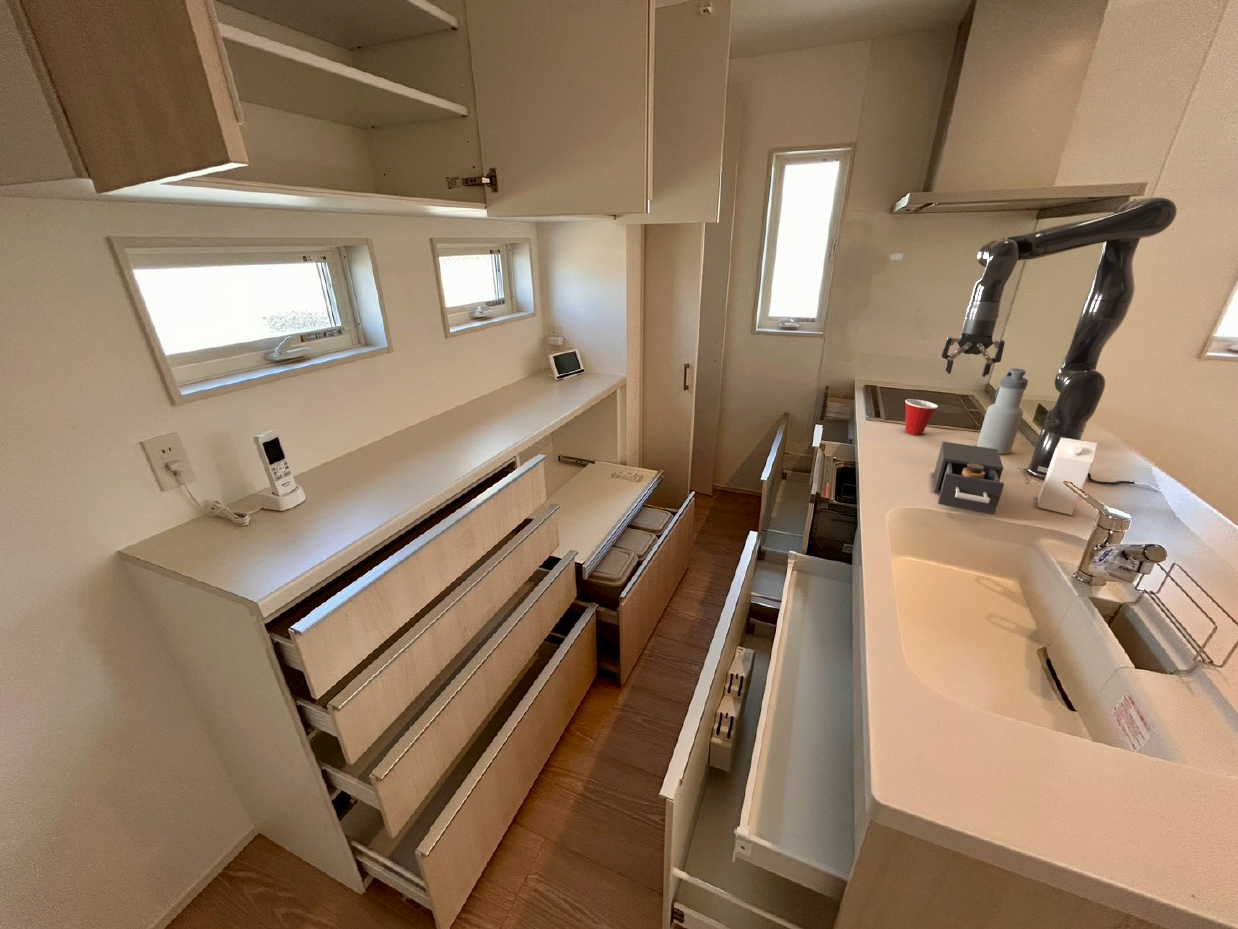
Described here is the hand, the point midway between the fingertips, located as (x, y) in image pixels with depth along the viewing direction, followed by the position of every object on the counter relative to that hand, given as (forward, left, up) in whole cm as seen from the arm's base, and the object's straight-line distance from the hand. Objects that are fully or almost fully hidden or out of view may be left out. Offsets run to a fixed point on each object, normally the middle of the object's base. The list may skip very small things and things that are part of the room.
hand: (965, 374), depth 146 cm
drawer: (-5, +26, -29) cm, 39 cm away
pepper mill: (-5, +25, -28) cm, 38 cm away
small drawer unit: (-5, +13, -30) cm, 33 cm away
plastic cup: (+8, -35, -30) cm, 47 cm away
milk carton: (-26, +15, -30) cm, 43 cm away
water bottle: (-16, -28, -30) cm, 44 cm away
